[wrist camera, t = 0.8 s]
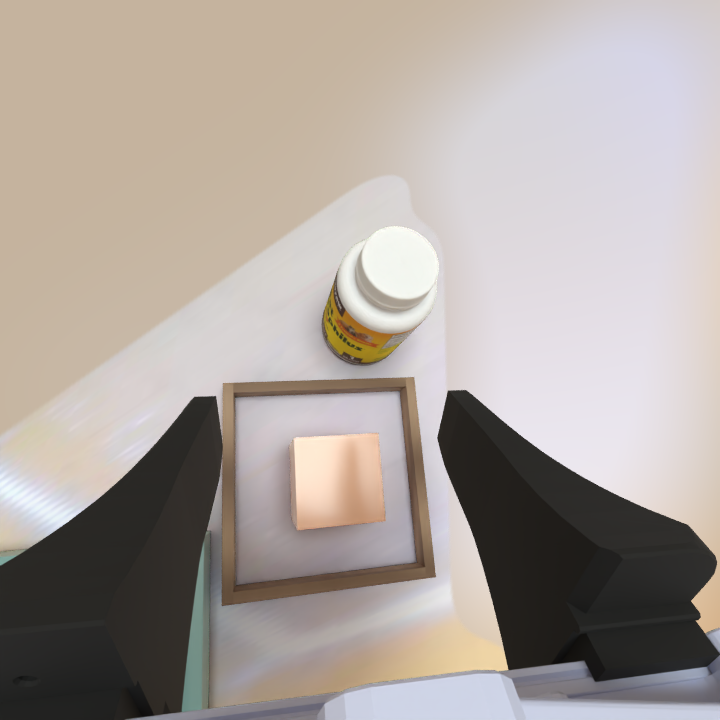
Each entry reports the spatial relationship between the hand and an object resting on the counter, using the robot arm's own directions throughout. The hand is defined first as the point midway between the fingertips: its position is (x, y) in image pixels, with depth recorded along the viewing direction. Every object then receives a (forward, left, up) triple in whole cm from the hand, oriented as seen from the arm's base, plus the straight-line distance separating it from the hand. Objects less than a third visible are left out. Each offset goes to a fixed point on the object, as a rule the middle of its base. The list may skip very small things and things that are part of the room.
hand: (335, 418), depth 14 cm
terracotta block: (-2, -1, -15) cm, 15 cm away
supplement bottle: (+8, -4, -15) cm, 18 cm away
